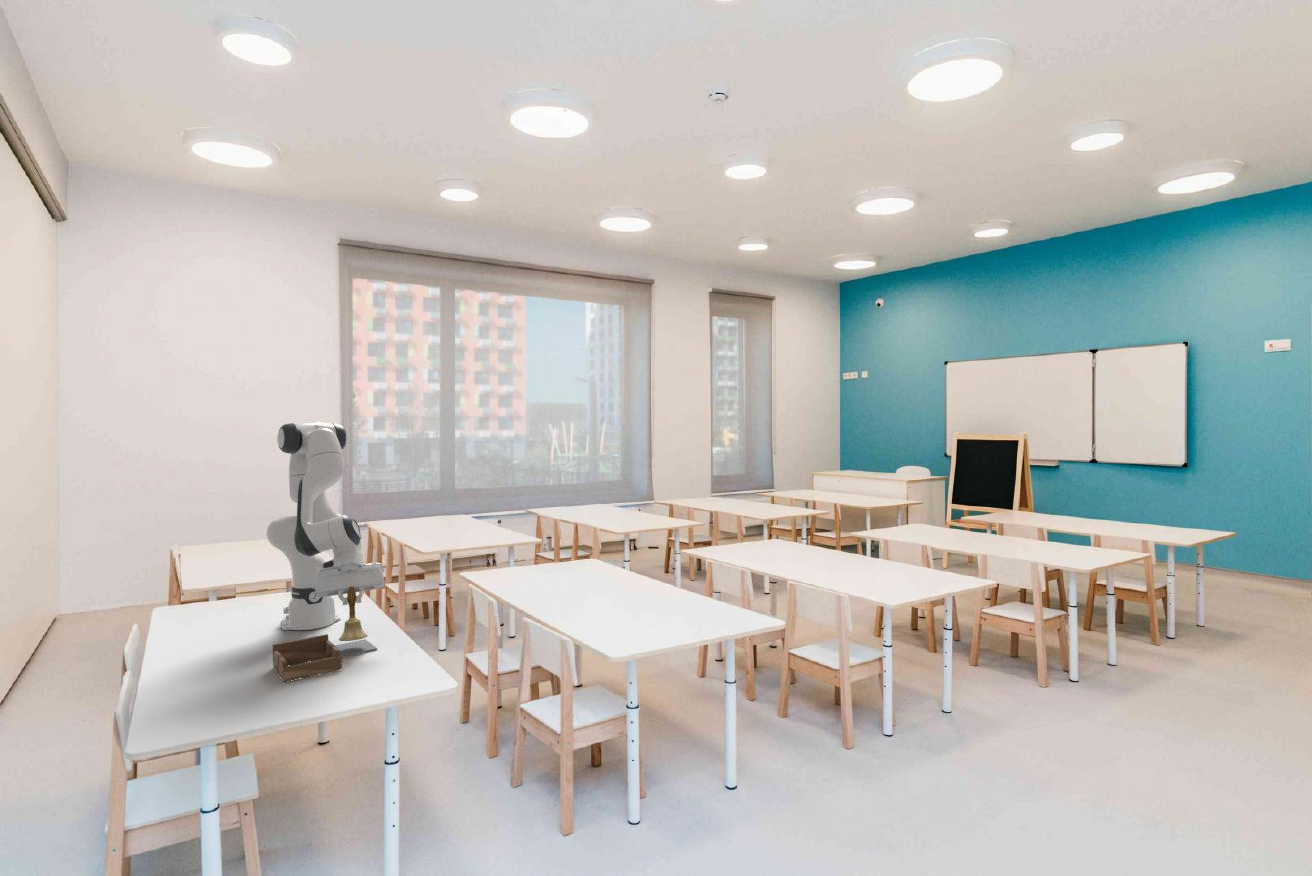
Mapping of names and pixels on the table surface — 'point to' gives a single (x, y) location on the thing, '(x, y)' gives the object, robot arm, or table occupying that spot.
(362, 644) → the slate mat
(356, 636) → the hand bell
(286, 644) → the open wooden box
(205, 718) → the table surface
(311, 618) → the robot arm
